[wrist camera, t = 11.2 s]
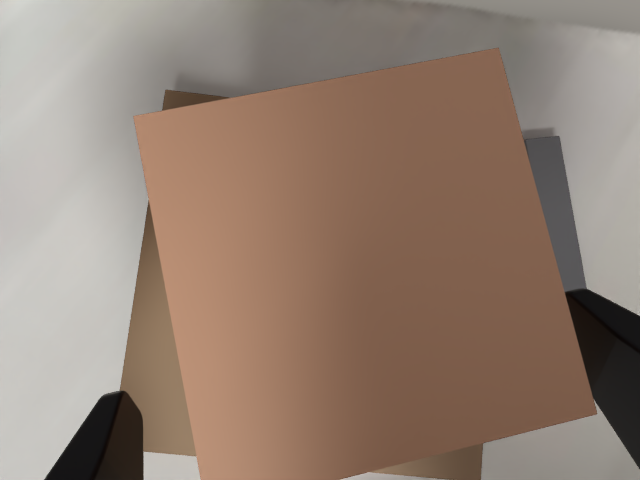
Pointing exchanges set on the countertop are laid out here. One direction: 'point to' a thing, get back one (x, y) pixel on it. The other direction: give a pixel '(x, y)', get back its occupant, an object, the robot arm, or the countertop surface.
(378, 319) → the terracotta block
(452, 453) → the pad
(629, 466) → the countertop surface
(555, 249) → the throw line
